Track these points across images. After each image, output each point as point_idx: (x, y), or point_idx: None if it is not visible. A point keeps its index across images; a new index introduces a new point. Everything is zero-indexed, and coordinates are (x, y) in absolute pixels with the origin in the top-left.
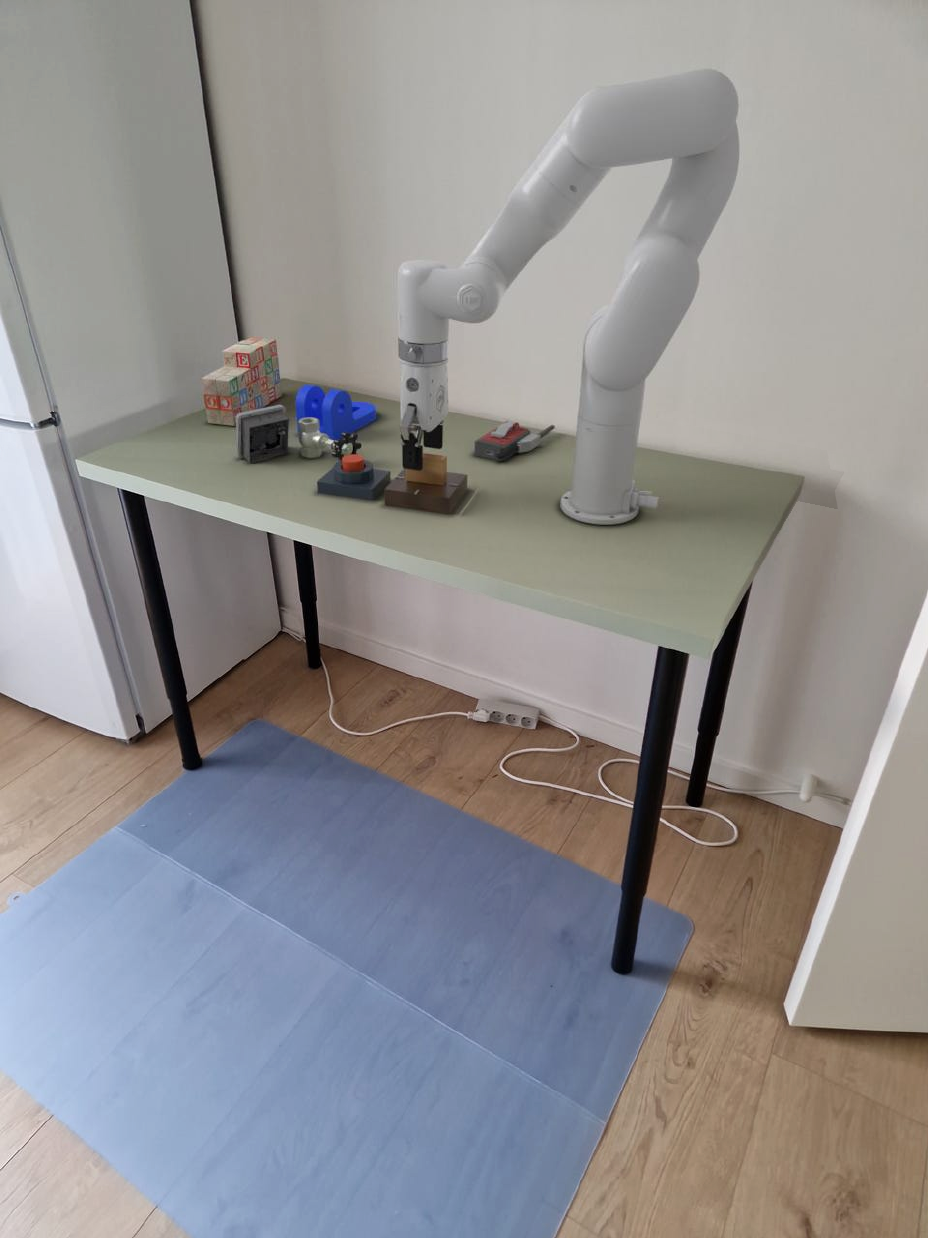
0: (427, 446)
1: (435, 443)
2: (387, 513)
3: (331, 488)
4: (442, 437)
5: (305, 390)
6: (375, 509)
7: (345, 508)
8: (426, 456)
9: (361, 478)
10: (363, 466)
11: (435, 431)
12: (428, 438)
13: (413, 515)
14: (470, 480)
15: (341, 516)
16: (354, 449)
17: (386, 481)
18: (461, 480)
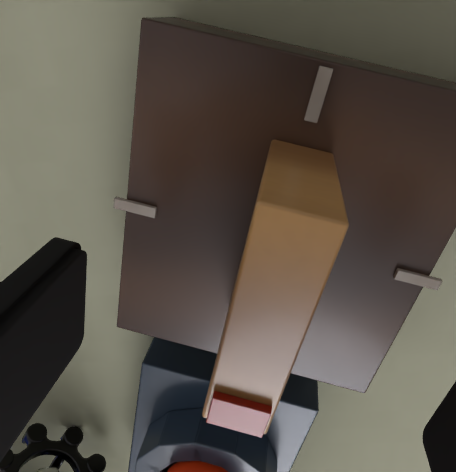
0: (81, 324)
1: (70, 298)
2: (421, 329)
3: None
4: (12, 277)
5: None
6: (382, 363)
7: (370, 433)
8: (284, 336)
9: (265, 453)
10: (205, 470)
11: (11, 368)
12: (51, 359)
13: (453, 244)
14: (42, 12)
15: None
16: (24, 462)
17: (189, 355)
18: (242, 48)
